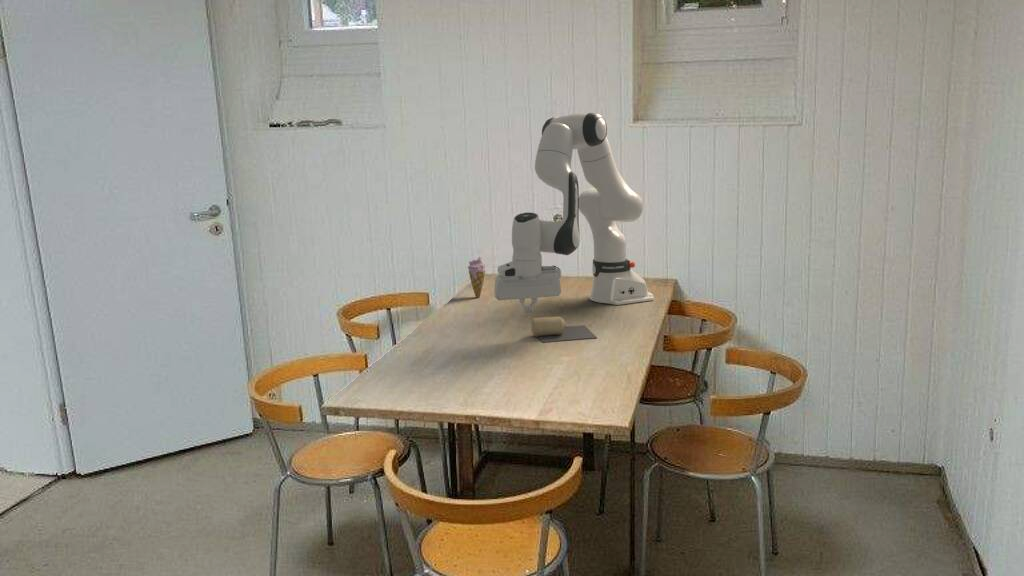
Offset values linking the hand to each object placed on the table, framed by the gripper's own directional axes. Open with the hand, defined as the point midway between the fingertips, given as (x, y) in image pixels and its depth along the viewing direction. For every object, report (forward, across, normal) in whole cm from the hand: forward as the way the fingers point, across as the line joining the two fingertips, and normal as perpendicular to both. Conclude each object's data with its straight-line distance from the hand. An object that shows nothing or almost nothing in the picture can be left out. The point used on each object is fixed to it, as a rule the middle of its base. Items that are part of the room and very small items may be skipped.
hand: (528, 311), depth 276 cm
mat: (+8, -11, 0) cm, 14 cm away
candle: (+5, -1, 0) cm, 5 cm away
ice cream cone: (+8, +8, -53) cm, 54 cm away
